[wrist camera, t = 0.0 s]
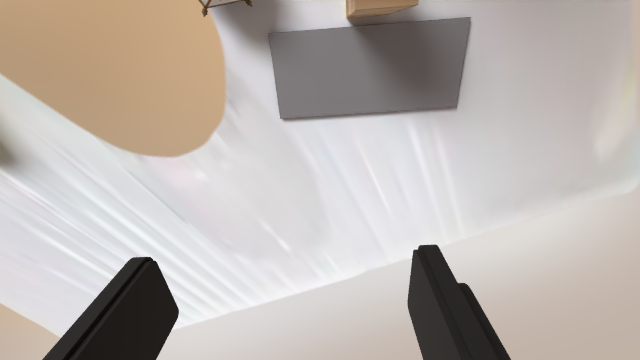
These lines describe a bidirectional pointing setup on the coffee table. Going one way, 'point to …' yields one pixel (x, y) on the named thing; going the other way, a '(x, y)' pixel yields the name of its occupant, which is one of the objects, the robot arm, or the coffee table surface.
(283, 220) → the coffee table surface
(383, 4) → the oak block
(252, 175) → the coffee table surface
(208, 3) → the game die
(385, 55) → the mat
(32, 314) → the coffee table surface
